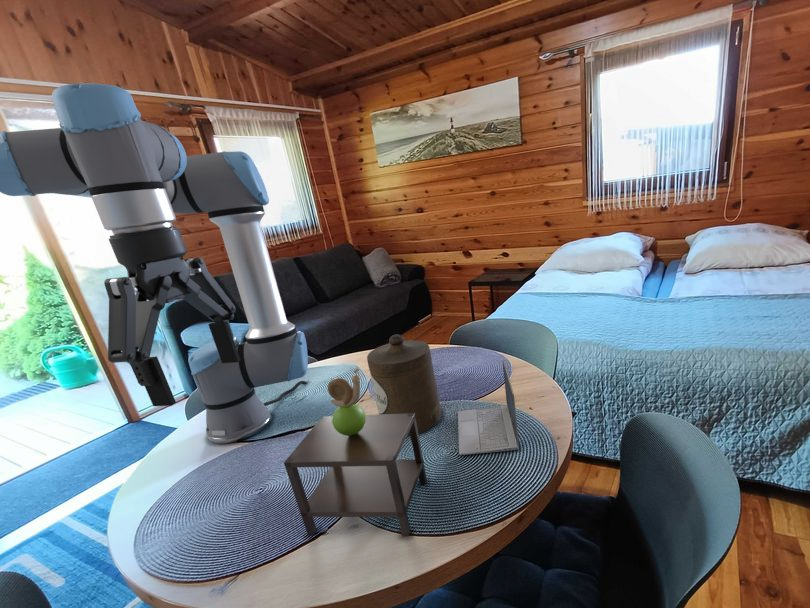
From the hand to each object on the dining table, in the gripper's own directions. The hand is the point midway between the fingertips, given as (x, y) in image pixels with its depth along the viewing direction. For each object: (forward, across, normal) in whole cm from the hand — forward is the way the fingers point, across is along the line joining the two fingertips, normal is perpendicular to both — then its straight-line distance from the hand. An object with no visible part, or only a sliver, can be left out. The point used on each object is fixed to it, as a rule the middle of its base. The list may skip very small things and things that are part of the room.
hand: (201, 381), depth 62 cm
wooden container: (+31, -39, +16) cm, 52 cm away
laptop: (+31, -33, +35) cm, 57 cm away
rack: (+31, -9, +16) cm, 36 cm away
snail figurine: (+16, -10, +16) cm, 25 cm away
